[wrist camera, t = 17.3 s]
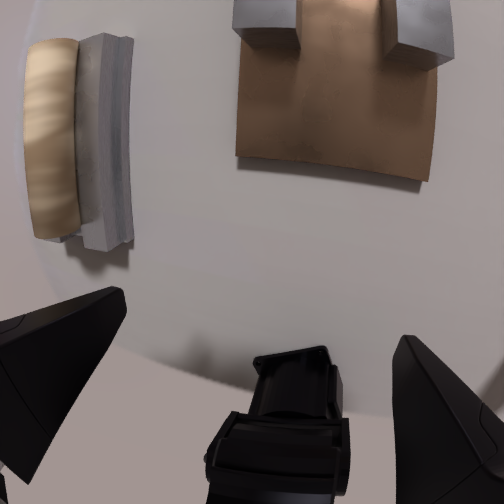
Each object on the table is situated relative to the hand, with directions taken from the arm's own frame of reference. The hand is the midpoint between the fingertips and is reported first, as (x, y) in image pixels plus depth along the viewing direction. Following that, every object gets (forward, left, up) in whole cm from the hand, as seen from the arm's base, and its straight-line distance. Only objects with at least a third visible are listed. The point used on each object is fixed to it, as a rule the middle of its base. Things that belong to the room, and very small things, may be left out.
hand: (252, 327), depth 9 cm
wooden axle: (-13, +12, -10) cm, 20 cm away
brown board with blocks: (+8, +11, -12) cm, 18 cm away
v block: (-13, +11, -12) cm, 21 cm away
